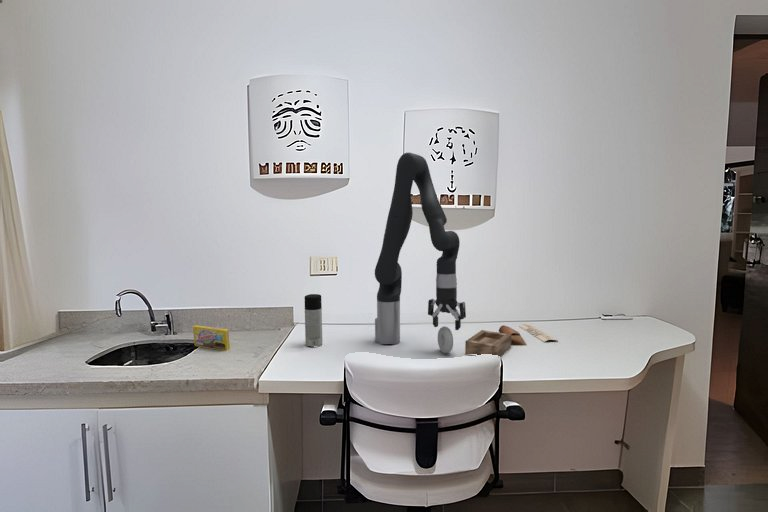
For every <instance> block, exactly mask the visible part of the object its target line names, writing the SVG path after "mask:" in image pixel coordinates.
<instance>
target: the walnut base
mask: <svg viewBox="0 0 768 512" xmlns="http://www.w3.org/2000/svg"><path fill="white" fill-rule="evenodd" d="M511 348H512V345H511V334H504V333H500V332H499V331H498V332H497V331H489V330H484V329H481V330H480V331H478V332H477V333H475V334H474V335H472V336H471V337H469V338H467V340H465V348H464V355H467V354H477V355H481V354H492V355H498V356H500V358H501V357H502V356H503V355H504V354H505V353H506V352H507V351H509V350H510V349H511Z"/></svg>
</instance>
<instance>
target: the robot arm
mask: <svg viewBox="0 0 768 512" xmlns="http://www.w3.org/2000/svg"><path fill="white" fill-rule="evenodd" d="M413 182H414V183H415V185H416V187H417V188H418V192H419V196H420V206H421V210H422V213H423V216H424V218H425V220H426V223H427V225H428V228H429V236H430V241H431V244H432V246H433V247H434V249H435V250H437V251H439V252H442V254H441V256H440V257H439V258H437V259H436V276H435V277H436V278H435V289H436V290H435V298H436V299H434V298H430V299H428V301H427V303H428V304H427V315H428V316H431V317H432V326H433V327H434V328H437V327H439V315H440V313H446V314H451V316H453V318H454V319H455V320H454V325H455V326H454V327H455V331H458V330H460V329H461V327H462V324H461V323H462V320H464V319H465V318H466V317H467V314H466V312H467V311H466V302H465V301H462V302H461V301H460V302H459V301H457V300H458V299H457V294H458V291H457V288H458V286H457V285H458V283H457V282H458V281H457V280H458V279H457V259H458V255H459V251H460V237H459V235H458V233H457V232H456V231H453V230H447V231H446V229H445V225H446V224H447V222H448V219H447V216H446V214H445V211H444V209H443V207H442V205H441V203H440V200H439V198H438V195H437V193H436V190H435V187H434V184H433V180H432V176H431V172H430V168H429V165H428V162H427V160H426V158H425V157H423V156H421V155H419V154H417V153H412V152H405V153H403V154H402V155H401V156H400V157H399V159H398V161H397V164H396V169H395V178H394V185H393V186H394V187H393V193H392V197H391V202H390V207H389V210H388V215H387V220H386V224H385V230H384V234H383V241H382V246H381V250H380V254H379V256H378V259H377V262H376V265H375V269H374V278H375V279H376V281H377V283H378V284H379V285H378V286H379V287H378V291H377V293H376V318H375V319H374V342H375V343H377V344H379V343H380V345H383V344H394V345H398V344H399V343H400V342H401V293H402V283H403V282H402V280H403V279H402V278H403V277H402V275H403V273H402V272H403V271H402V266H401V264H400V263H399V258H400V253H401V251H402V248H403V246H404V243H406V242H405V241H406V240H407V237H408V234H409V231H410V228H411V225H412V220H413V210H414V209H413V203H412V197H411V196H412V188H413ZM435 305H436V307H437V308H435ZM434 308H435V310H434ZM457 308H459V311H458V309H457ZM397 343H398V344H397Z"/></svg>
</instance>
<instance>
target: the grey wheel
mask: <svg viewBox="0 0 768 512" xmlns="http://www.w3.org/2000/svg"><path fill="white" fill-rule="evenodd" d="M437 345H438V347H439V350H440V351H441V352H442V353H443V354H445V355H446V354H450V353H451V352H452V350H453V348H454V337H453V333H452V330H451V329H450V328H449V327H448V326H442V327H440V328H439V330H438V333H437Z"/></svg>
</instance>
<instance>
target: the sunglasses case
mask: <svg viewBox="0 0 768 512" xmlns="http://www.w3.org/2000/svg"><path fill="white" fill-rule="evenodd" d="M498 330H499V331H498V333H504V334H511V346H521V347H522V346H524V347H525V346H526V347H527V346H528V345H527V343H526V341H525V339H524V338H523V337H522V335H521V334H520V332H519V331H517V330H515V329H513V328H512V327H509V326H507V325H501V326H500V327H499V329H498Z"/></svg>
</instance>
